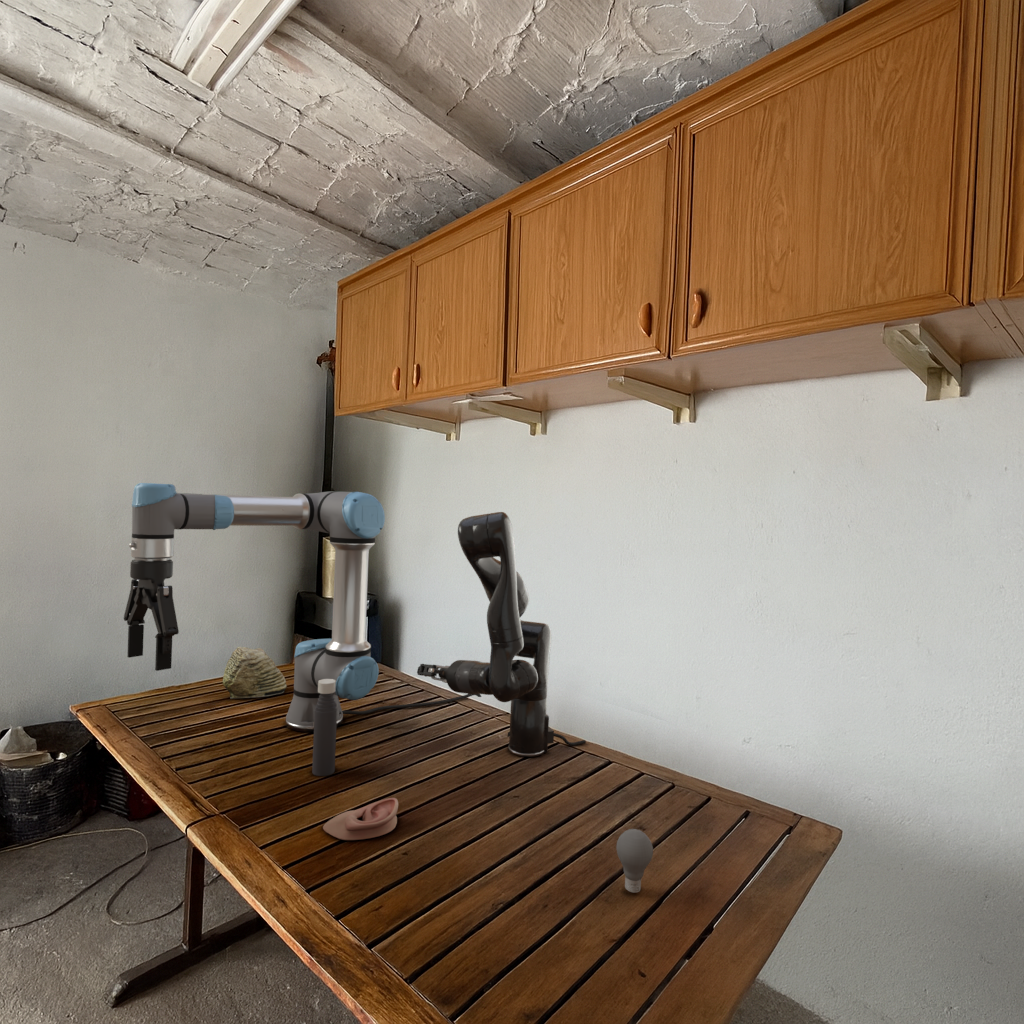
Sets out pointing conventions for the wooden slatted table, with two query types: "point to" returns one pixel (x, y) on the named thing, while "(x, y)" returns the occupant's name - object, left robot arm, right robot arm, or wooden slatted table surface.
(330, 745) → the bottle
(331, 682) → the cap
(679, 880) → the wooden slatted table surface
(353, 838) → the anatomical model
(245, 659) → the fossil
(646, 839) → the light bulb
